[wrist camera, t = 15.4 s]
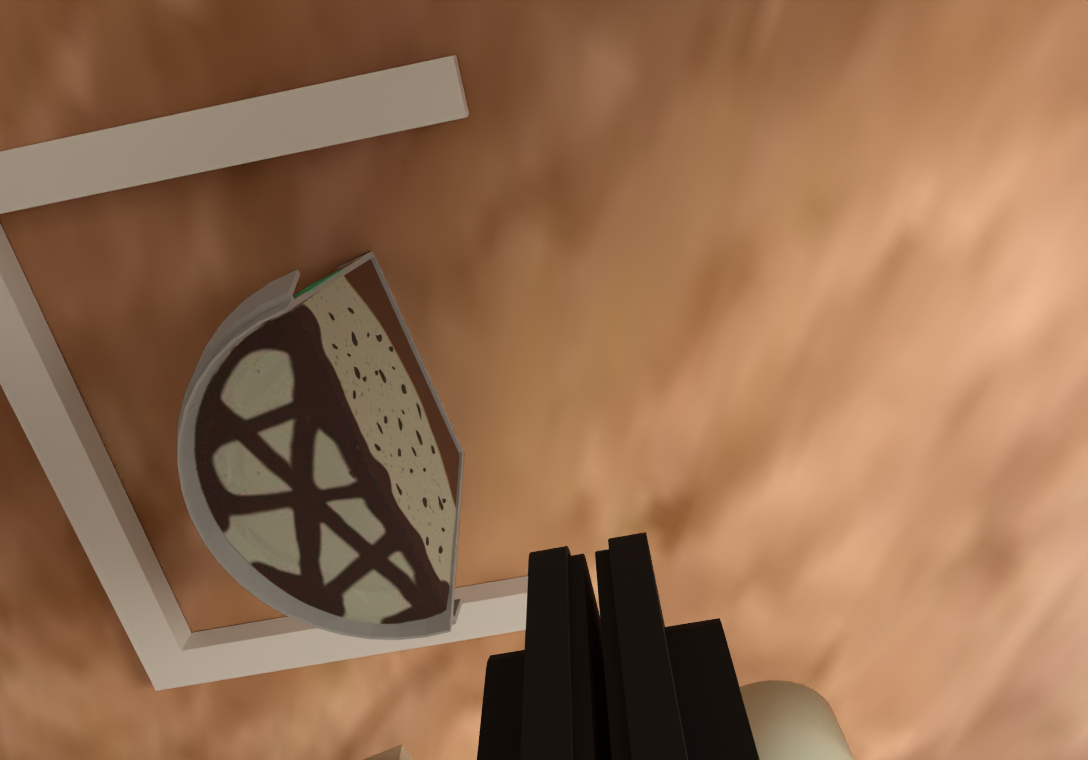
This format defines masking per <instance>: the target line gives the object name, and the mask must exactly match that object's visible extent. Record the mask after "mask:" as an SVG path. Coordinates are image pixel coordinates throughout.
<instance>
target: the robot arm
mask: <svg viewBox="0 0 1088 760" xmlns="http://www.w3.org/2000/svg"><path fill="white" fill-rule="evenodd" d="M608 543H609V549H608V550H602V551H596V552H595V557H596V570H597V582H598V595H599V607H600V616H599V611H598V607H597V603H596V599H595V595H594V591H593V587H592V583H591V578H590V574H589V570H588V566H587V562H586V558H585V555H584V554H579V555H573V556H571V554H570V551H569V548H568V547H567V546H565V547H559V548H553V549H547V550H542V551H536V552H530V554H529V565H528V588H527V611H526V634H525V650H521V651H515V652H509V653H503V654H497V655H491V656H490V657H489V659H488V662H487V667H486V676H485V686H484V696H483V705H482V715H481V725H480V735H479V745H478V755H477V760H760V759H759V756H758V752H757V748H756V745H755V741H754V738H753V734H752V731H751V727H750V723H749V720H748V716H747V713H746V709H745V706H744V702H743V698H742V695H741V691H740V688H739V684H738V680H737V677H736V673H735V670H734V666H733V663H732V659H731V655H730V652H729V648H728V645H727V641H726V638H725V634H724V630H723V627H722V624H721V621H720V619H719V618H718V619H712V620H706V621H700V622H694V623H688V624H681V625H675V626H669V627H665V625H664V620H663V615H662V610H661V605H660V600H659V595H658V590H657V585H656V580H655V575H654V570H653V565H652V560H651V555H650V550H649V545H648V540H647V536H646V532H645V533H639V534H633V535H628V536H622V537H616V538H610V539H608Z"/></svg>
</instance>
